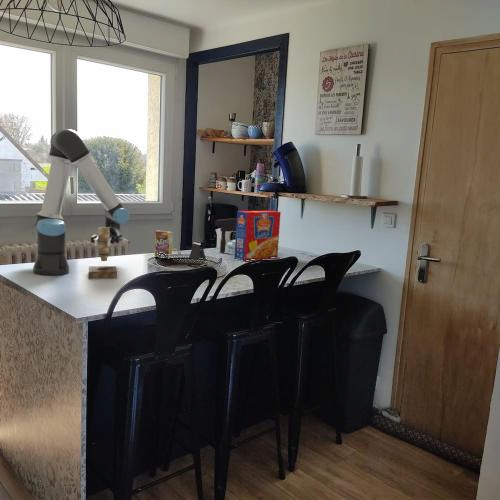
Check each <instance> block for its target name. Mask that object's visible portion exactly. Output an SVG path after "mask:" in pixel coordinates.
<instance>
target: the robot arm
mask: <svg viewBox="0 0 500 500" xmlns="http://www.w3.org/2000/svg"><path fill="white" fill-rule="evenodd" d="M84 141H85V140H83V138H82V137H81V135H80V134H79V133H78V132H77V131H76V130H73V129H71V128H70V129H69V128H65V129H61V130H57V131H56V132H54V133H53V134H52V136H51V138H50V142H49V143H50V149H49V154H48V156H49V158H50V159H51V161H50V167H49V172H48V177H47V182H46V187H45V190H44V191H45V192H44V196H43V201H42V205H41V210H40V211H39V212H37V213H36V218H35V223H33V226H32V236H33V237H34V239H35V240H36V242H37V246H36V247H37V248H36V249H37V251H36V254H37V255H36V259H35V261H34V265H33V267H32V268H33V269H32V270H33V274H36V275H41V276H42V275H43V276H57V275H58V276H59V275H65V274H68V273H69V272H70V265H69V262H68V259H67V256H66V229H67V227H66V223H65V222H64V217H63V216H62V210H63V205H64V201H65V195H66V191H67V187H68V186H67V185H68V182H69V181H68V180H69V176H70V171H71V167H72V165H75V166H76V168H77V170H78V171H79V172H80V175H81V176H82V177H83V178H84V180H85V182H87V184H88V186H89V187H90V188H91V190H92V192H93V193H94V194H95V196H96V197H97V199H98V201H99V202H100V203H101V204H102V205H101V206H103V208H104V227H108V228H110V238H109V239H108V246H109V247H110V246H111V245H114V244H119V243H120V242H121V241H123V235H122V227H121V225H125V224H126V223H128V222H129V220H130V212H129V210H127V209H126V208H125V207H124V206H123V204H122V203H121V201H120V200H119V198H118V196H117V195H116V193H115V192H114V190H113V189H112V187H111V186H110V185H109V183H108V181H107V180H106V178H105V176H104V175H103V174H102V172H101V171H100V169H99V168H98V166H97V164H96V163H95V161H94V160H93V158H92V157H91V152H90V150H89V148H88V146H87V144H86V143H85V142H84ZM90 243H91V244H92V243H93V244H94V246H95V247H97V246H99V241H98V234H94V233H93V234H92V236H90Z"/></svg>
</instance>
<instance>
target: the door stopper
mask: <svg viewBox="0 0 500 500" xmlns="http://www.w3.org/2000/svg"><path fill="white" fill-rule="evenodd" d="M189 258H192V259H194V260H198V259H199V258H203V259H206V254H205V246H204V243H200V242H196V241H195V242H192V245H191V250H190V254H189V257H188V259H189ZM206 260H207V259H206Z"/></svg>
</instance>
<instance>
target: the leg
mask: <svg viewBox="0 0 500 500" xmlns="http://www.w3.org/2000/svg"><path fill="white" fill-rule="evenodd" d="M97 236H98V241H99V244H98V255H99V257H100V261H101V262H107V261H108V257H109V255H110V246H108V239H109V238H110V228H108V227H105V226H104V227H103V226H100V227H97Z"/></svg>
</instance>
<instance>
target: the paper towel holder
mask: <svg viewBox="0 0 500 500" xmlns="http://www.w3.org/2000/svg"><path fill="white" fill-rule="evenodd" d="M236 223H237V217H236V218H231V217H230V218H225V219H216V220H215V223H214V225H215V226H216V227H220V232H221V236H220V237H221V239H220V242H219V244H220V245H219V253H220V252H223V253H222V254H225V253H226V251H227V250H231V251H235V240H236V239H233V240H229V241H228V242H227V244H226V233H227V232H236ZM226 247H227V248H226ZM226 249H227V250H226ZM231 251H230V252H231ZM224 252H225V253H224Z"/></svg>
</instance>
